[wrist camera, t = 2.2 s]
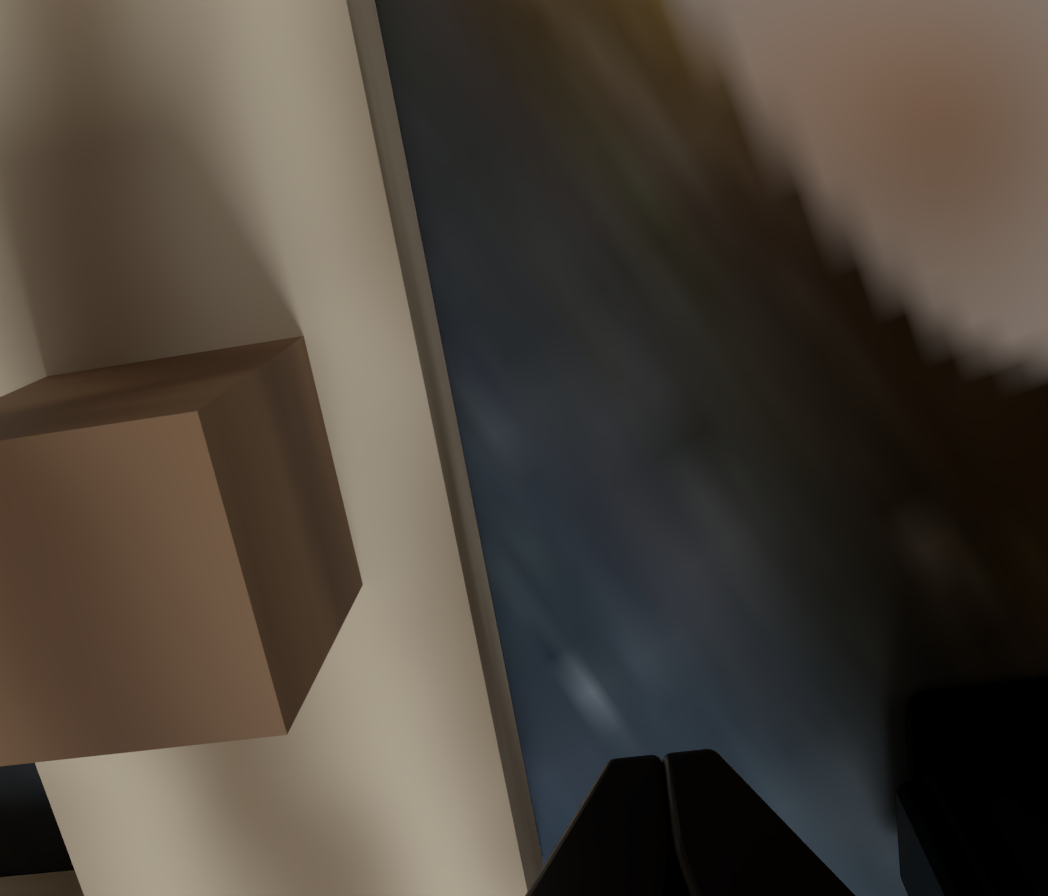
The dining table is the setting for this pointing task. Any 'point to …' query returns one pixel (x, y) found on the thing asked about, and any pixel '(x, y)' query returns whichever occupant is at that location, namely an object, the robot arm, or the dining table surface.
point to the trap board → (349, 416)
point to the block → (167, 553)
